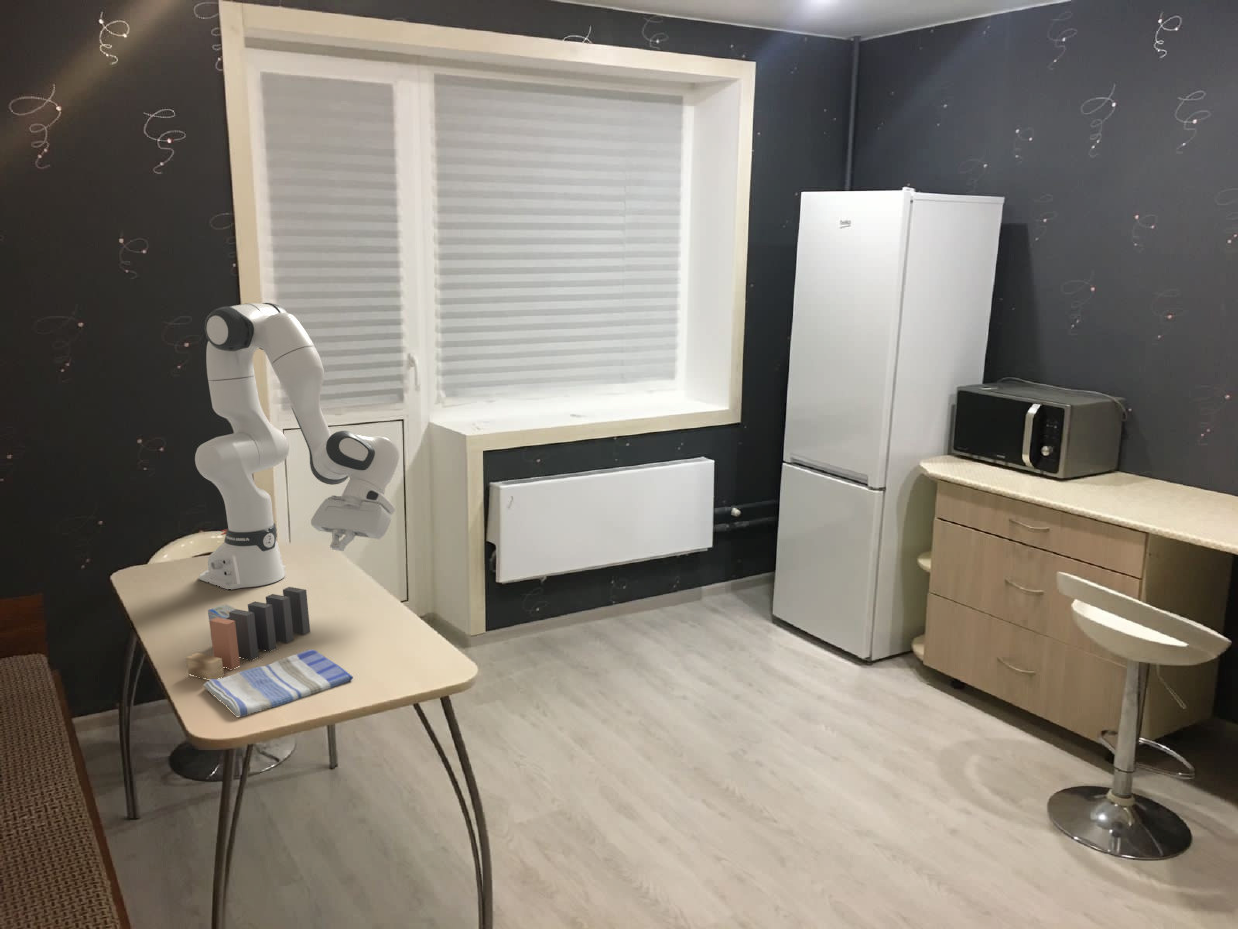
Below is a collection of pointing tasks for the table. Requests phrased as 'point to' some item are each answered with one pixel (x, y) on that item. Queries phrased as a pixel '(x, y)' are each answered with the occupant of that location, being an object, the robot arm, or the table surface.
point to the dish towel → (277, 682)
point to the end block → (205, 666)
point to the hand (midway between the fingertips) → (336, 549)
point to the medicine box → (220, 612)
